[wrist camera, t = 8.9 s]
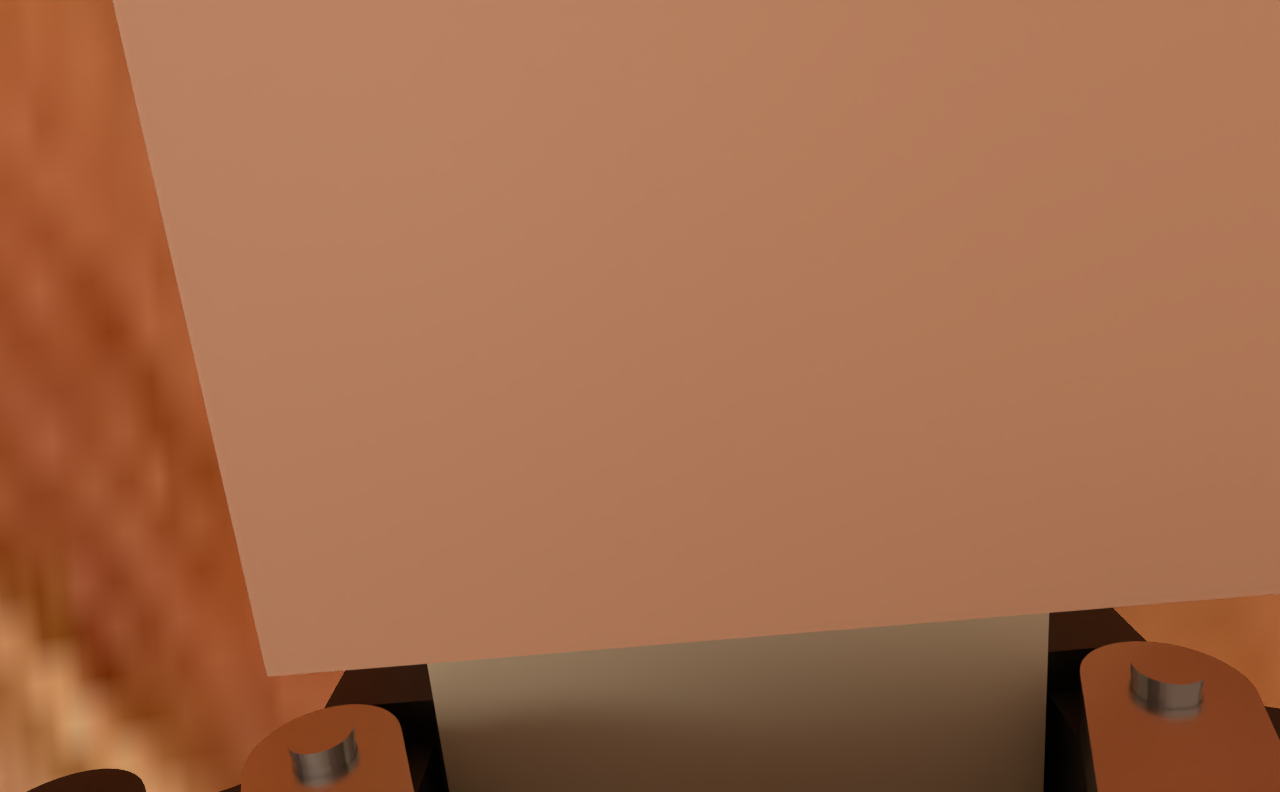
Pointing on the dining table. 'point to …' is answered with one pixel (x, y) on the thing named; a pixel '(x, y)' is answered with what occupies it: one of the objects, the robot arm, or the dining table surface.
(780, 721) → the pallet
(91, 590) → the dining table surface
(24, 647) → the dining table surface
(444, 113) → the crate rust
